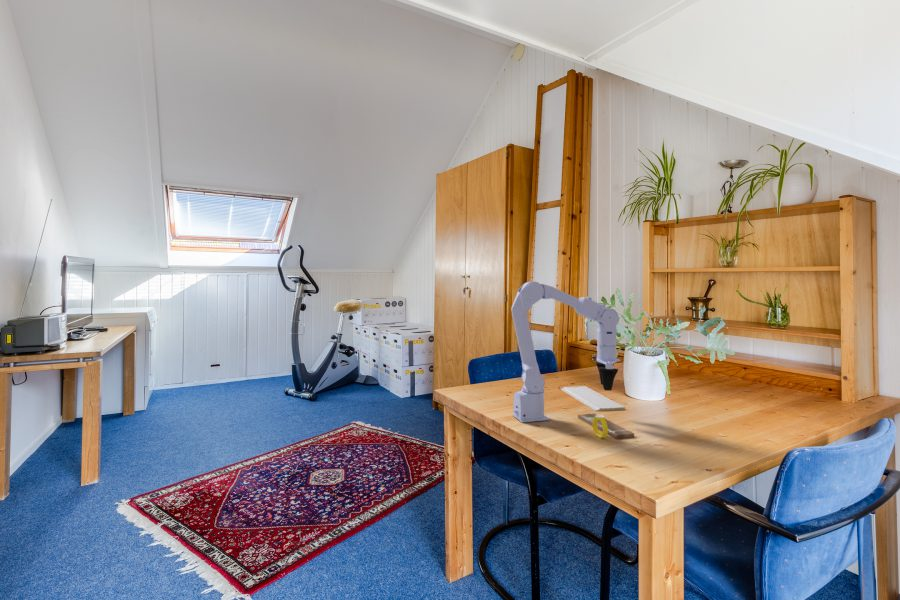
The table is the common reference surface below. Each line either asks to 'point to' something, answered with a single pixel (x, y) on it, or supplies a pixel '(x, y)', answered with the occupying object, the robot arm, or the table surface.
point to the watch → (604, 424)
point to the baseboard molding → (592, 398)
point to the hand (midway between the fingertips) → (606, 387)
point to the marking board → (613, 429)
